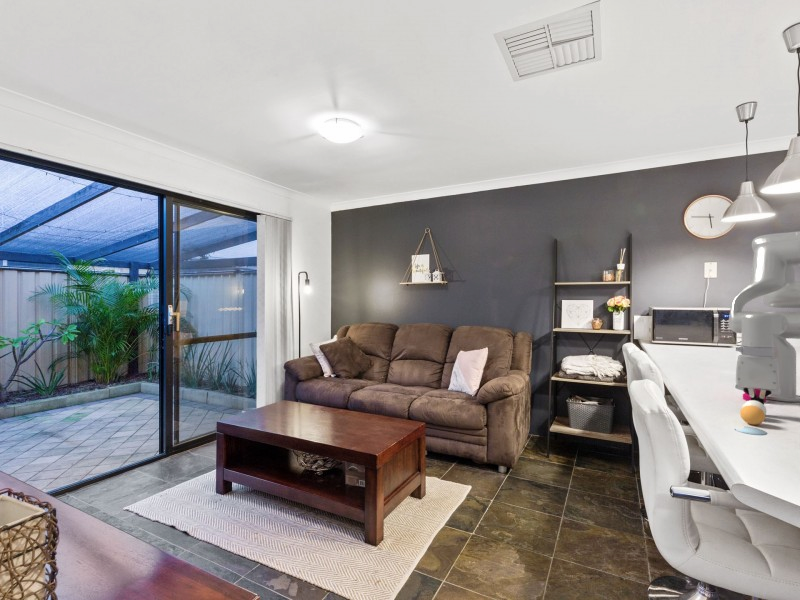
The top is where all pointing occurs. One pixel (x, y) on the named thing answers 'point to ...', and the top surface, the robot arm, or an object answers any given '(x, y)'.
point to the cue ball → (755, 403)
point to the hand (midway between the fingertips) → (757, 409)
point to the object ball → (752, 415)
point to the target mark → (752, 430)
